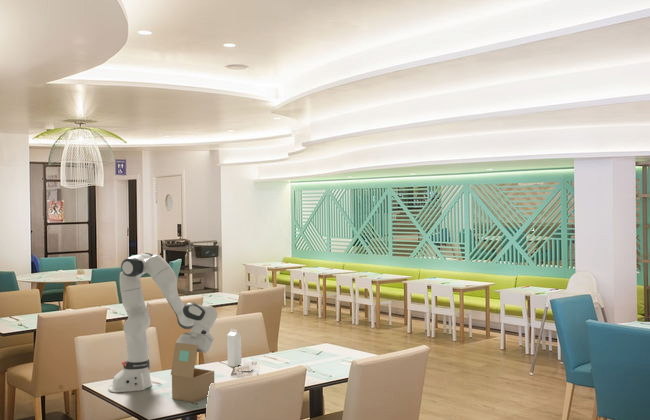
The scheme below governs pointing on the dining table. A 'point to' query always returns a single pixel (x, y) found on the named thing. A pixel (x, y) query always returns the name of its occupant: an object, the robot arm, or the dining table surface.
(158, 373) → the dining table surface
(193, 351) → the lid flap
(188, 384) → the carton
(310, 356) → the dining table surface
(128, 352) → the robot arm
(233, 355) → the milk
